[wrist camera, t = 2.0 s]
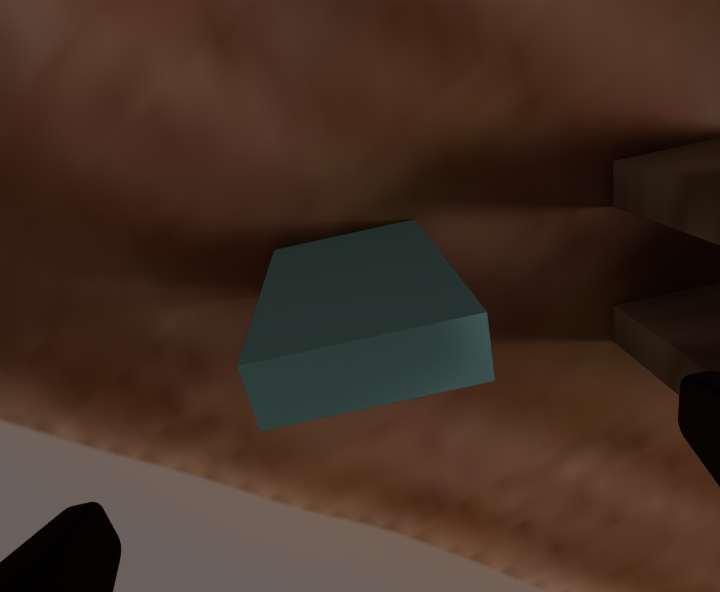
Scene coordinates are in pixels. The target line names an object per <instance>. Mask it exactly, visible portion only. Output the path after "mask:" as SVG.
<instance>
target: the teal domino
mask: <svg viewBox="0 0 720 592" xmlns="http://www.w3.org/2000/svg"><path fill="white" fill-rule="evenodd" d="M237 367H238V370H239V373H240V376H241V379H242V382H243V385H244V388H245V390H246V393H247V396H248V399H249V402H250V405H251V408H252V410H253V413H254V416H255V419H256V422H257V425H258V428H259V430H260V431H265V430H269V429H274V428H279V427H283V426H288V425H293V424H297V423H302V422H306V421H311V420H316V419H320V418H325V417H330V416H334V415H339V414H344V413H348V412H353V411H357V410H362V409H367V408H371V407H376V406H381V405H385V404H390V403H395V402H399V401H404V400H408V399H413V398H418V397H422V396H427V395H432V394H436V393H441V392H446V391H450V390H455V389H459V388H464V387H469V386H473V385H478V384H483V383H487V382H492V381H495V377H494V368H493V359H492V351H491V342H490V333H489V324H488V316H487V311H486V310H485V309H484V307H483V306H482V305H481V304H480V302H479V301H478V300H477V298H476V297H475V296H474V295H473V293H472V292H471V291H470V289H469V288H468V287H467V286H466V284H465V283H464V282H463V280H462V279H461V278H460V277H459V275H458V274H457V273H456V271H455V270H454V269H453V268H452V266H451V265H450V264H449V262H448V261H447V260H446V258H445V257H444V256H443V255H442V253H441V252H440V251H439V249H438V248H437V247H436V246H435V244H434V243H433V242H432V240H431V239H430V238H429V237H428V235H427V234H426V233H425V231H424V230H423V229H422V228H421V226H420V225H419V224H418V222H417V221H416V220H415V219H413V220H409V221H404V222H399V223H395V224H390V225H386V226H381V227H377V228H372V229H368V230H363V231H358V232H354V233H349V234H345V235H340V236H336V237H331V238H327V239H322V240H317V241H313V242H308V243H304V244H299V245H295V246H290V247H286V248H281V249H276V250H274V252H273V255H272V259H271V262H270V265H269V268H268V271H267V274H266V277H265V281H264V284H263V287H262V290H261V293H260V296H259V299H258V302H257V306H256V309H255V312H254V315H253V318H252V321H251V324H250V328H249V331H248V334H247V337H246V340H245V343H244V346H243V349H242V353H241V356H240V359H239V362H238V365H237Z"/></svg>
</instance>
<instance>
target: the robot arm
mask: <svg viewBox="0 0 720 592" xmlns="http://www.w3.org/2000/svg"><path fill="white" fill-rule="evenodd" d="M678 423H679V427H680V430H681V432H682V434H683V436H684V438H685V439H686V441H687V442H688V443H689V445H690V446H691V448H692V449H693V450H694V452H695V453H696V455H697V456H698V457H699V459H700V460H701V462H702V463H703V464H704V466H705V467H706V469H707V470H708V471H709V473H710V474H711V475H712V477H713V478H714V480H715V481H716V482H717V484H718V485H719V487H720V372H718V371H712V370H709V371H703V372H699V373H694V374H689V375H686V376H685V377H683V378H682V380H681V382H680V392H679V410H678ZM120 557H121V543H120V539H119V537H118V535H117V533H116V531H115V529H114V528H113V526H112V524H111V522H110V520H109V518H108V517H107V515H106V513H105V511H104V509H103V507H101V505H100V504H98V503H97V502H89V503H84V504H79V505H75V506H71V507H68V508H67V509H65V510H64V511H62V512H61V513H60V514H59V515H58V516H56V517H55V518H54V519H53V520H51V521H50V522H49V523H48V524H47V525H45V526H44V527H43V528H42V529H40V530H39V531H38V532H37V533H36V534H34V535H33V536H32V537H31V538H29V539H28V540H27V541H26V542H25V543H24V544H22V545H21V546H20V547H19V548H17V549H16V550H15V551H13V552H12V553H11V554H10V555H9V556H7V557H6V558H5V559H4V560H3V561H1V562H0V592H113V589H114V585H115V580H116V575H117V571H118V566H119V562H120Z"/></svg>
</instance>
